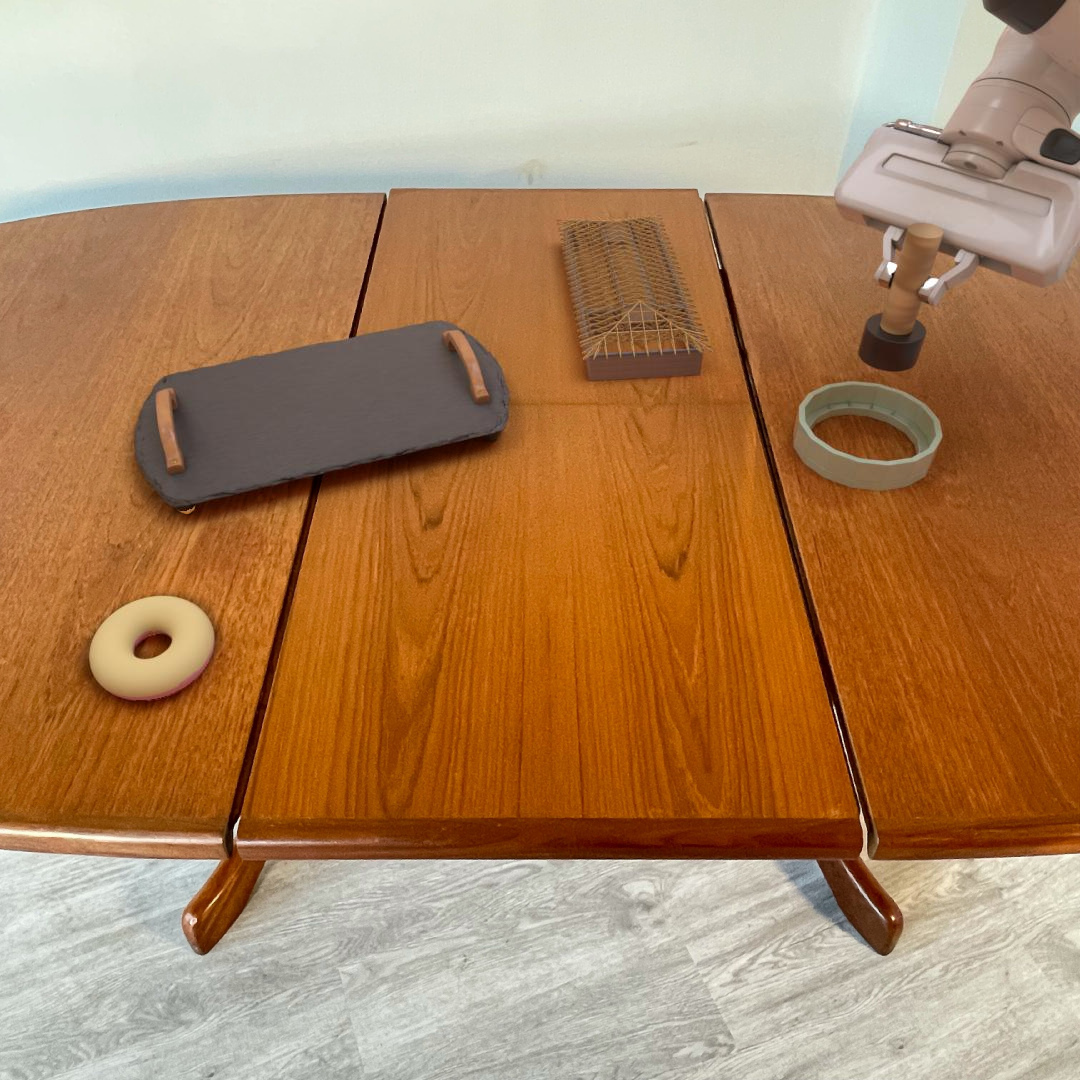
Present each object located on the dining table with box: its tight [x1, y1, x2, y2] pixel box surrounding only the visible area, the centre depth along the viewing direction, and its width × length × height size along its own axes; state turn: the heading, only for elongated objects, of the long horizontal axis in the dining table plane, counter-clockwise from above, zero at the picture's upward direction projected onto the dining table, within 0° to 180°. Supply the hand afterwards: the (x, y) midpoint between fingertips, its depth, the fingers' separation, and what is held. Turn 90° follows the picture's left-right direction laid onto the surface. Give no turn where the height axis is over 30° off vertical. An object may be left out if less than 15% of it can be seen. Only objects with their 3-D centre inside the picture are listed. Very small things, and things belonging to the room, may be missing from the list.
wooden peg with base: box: [857, 223, 943, 373], centre depth 76 cm, size 5×5×12 cm
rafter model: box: [555, 213, 714, 382], centre depth 109 cm, size 35×14×6 cm, turn 4°
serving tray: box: [133, 319, 511, 512], centre depth 92 cm, size 39×23×6 cm, turn 110°
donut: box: [88, 595, 216, 701], centre depth 71 cm, size 10×5×9 cm
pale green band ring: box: [792, 380, 943, 492], centre depth 86 cm, size 13×13×5 cm
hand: (903, 293), depth 75 cm, fingers closed on wooden peg with base, 3 cm apart
